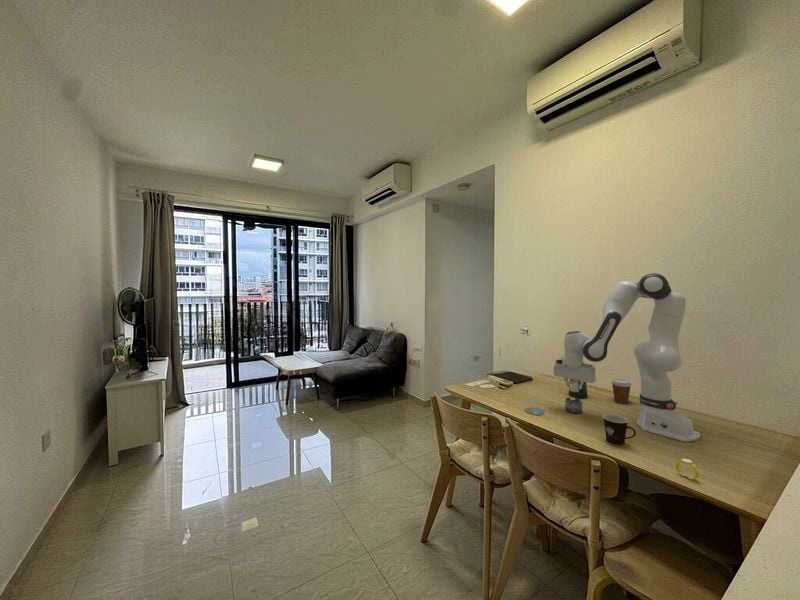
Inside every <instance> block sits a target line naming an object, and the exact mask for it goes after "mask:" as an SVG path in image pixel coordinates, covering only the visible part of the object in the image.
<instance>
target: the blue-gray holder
mask: <svg viewBox="0 0 800 600" xmlns="http://www.w3.org/2000/svg"><path fill="white" fill-rule="evenodd" d="M564 405H565V407H564V410H565V412H566V413H567V414H573V415H582V414H583V401H581V398H577V397H574V399H571V397H566V398H565V401H564Z"/></svg>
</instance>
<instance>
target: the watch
mask: <svg viewBox="0 0 800 600" xmlns="http://www.w3.org/2000/svg"><path fill="white" fill-rule="evenodd" d="M680 463H683V464H685V465H690V467H692V468H693V470H694V471H695V476H694V478H693V477H692V479H693V480H696V479H697V478H699V476H700V472H699V469H698V466H696V465H695V464H694V463H693V460H691V459H687V458H681V460H678V461H676V463H675V469H676V472H677V473H678V472H682V471H681V468H680Z"/></svg>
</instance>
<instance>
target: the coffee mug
mask: <svg viewBox="0 0 800 600" xmlns="http://www.w3.org/2000/svg"><path fill="white" fill-rule="evenodd" d="M602 416H603V417H602V418H603V425H604V431H605V439H606V441H608V442H607V443H609V444H611V443H612V444H611V445H614V444H615V445H614V446H624V445H625V442H626V440H627V439H628V440H629V439H632V438H634V437H636V435H637V433H636V430H635V429H634V428H633V427H632V426H628V419H627V418H626V417H624V416H621V415H615V414H604V415H602ZM628 429H629V430H630V429H631V430H632V431H633V435H630V436H627V435H626V434H627V430H628ZM626 436H627V437H626ZM623 444H624V445H623Z"/></svg>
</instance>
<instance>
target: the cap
mask: <svg viewBox="0 0 800 600" xmlns="http://www.w3.org/2000/svg"><path fill="white" fill-rule="evenodd" d="M568 382H569V387H568V391H569V390H570V391H572V392H579V389H578V385H579V381H577V380H570V379H569V380H568Z"/></svg>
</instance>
